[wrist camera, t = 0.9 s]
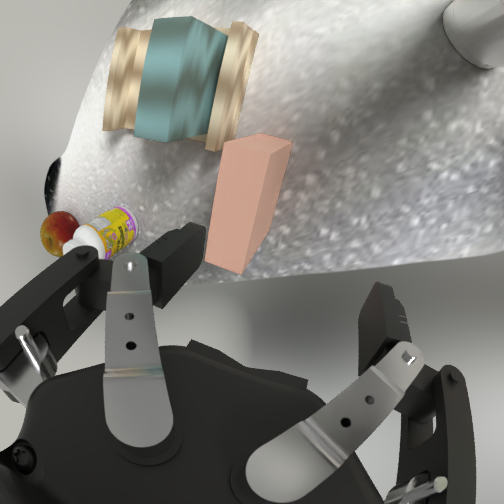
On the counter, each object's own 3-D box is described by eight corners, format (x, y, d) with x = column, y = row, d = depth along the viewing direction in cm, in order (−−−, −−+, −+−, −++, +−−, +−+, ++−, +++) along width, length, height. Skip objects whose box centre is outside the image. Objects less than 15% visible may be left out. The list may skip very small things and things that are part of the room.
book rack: (140, 33, 27) (81, 23, 17) (258, 34, 24) (219, 1, 15) (124, 125, 35) (65, 139, 25) (233, 146, 32) (185, 163, 23)
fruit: (92, 232, 48) (63, 251, 41) (80, 253, 52) (55, 271, 46) (67, 197, 46) (38, 212, 39) (57, 221, 51) (32, 236, 44)
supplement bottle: (138, 246, 45) (87, 286, 34) (111, 230, 46) (60, 264, 35) (142, 213, 41) (85, 250, 31) (113, 198, 42) (57, 229, 31)
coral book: (260, 133, 31) (224, 142, 21) (293, 141, 30) (270, 154, 21) (241, 220, 37) (204, 261, 28) (269, 230, 36) (241, 274, 27)
